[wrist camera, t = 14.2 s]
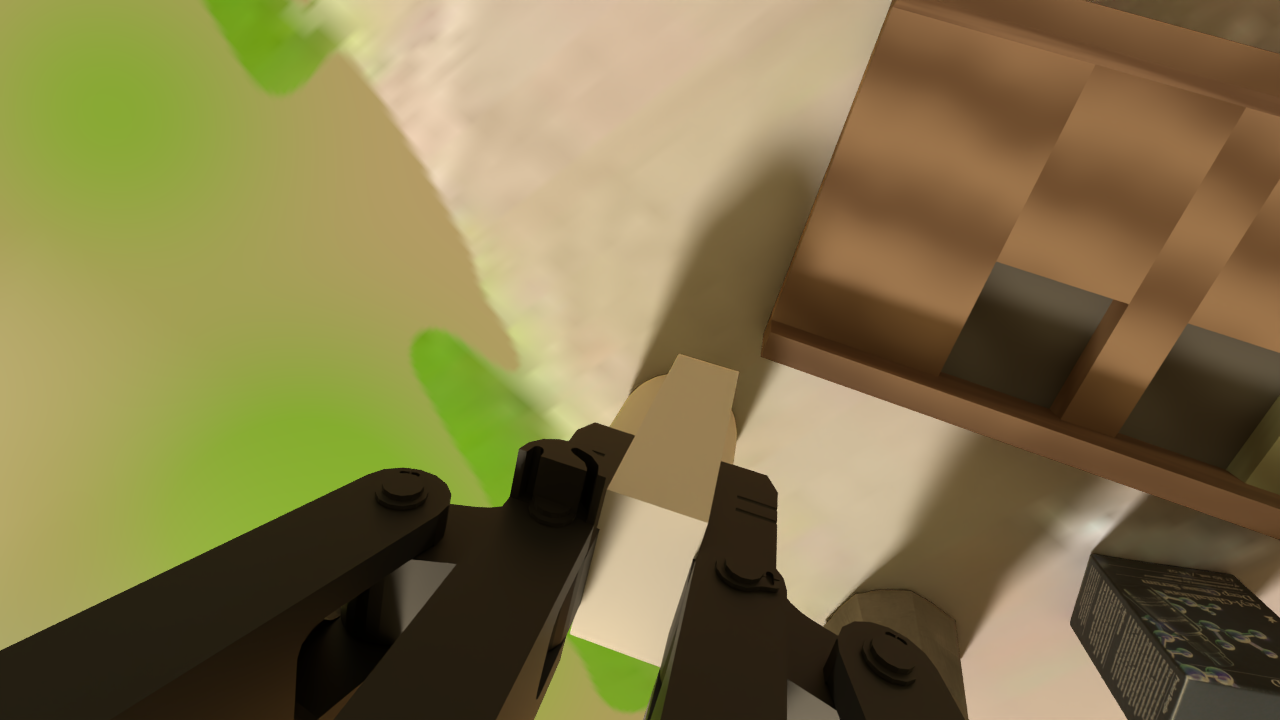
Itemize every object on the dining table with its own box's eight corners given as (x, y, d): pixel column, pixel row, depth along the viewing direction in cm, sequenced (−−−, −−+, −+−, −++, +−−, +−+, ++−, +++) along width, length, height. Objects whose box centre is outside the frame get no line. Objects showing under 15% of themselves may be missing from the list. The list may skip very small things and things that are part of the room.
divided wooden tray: (898, -16, 33) (917, -46, 28) (1618, 185, 29) (1776, 190, 25) (763, 333, 40) (760, 356, 35) (1331, 532, 36) (1413, 586, 31)
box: (1232, 570, 38) (1390, 714, 28) (1203, 647, 40) (1341, 807, 30) (1087, 549, 39) (1189, 678, 30) (1065, 624, 41) (1154, 769, 31)
